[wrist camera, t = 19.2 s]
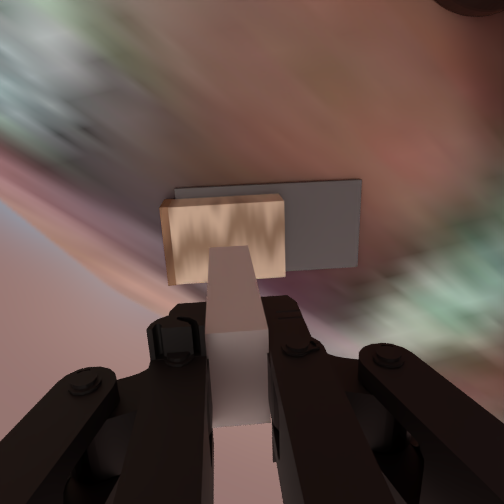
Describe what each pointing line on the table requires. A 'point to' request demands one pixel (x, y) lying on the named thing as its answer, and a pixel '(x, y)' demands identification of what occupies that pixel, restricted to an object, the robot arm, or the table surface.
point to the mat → (307, 219)
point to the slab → (222, 234)
